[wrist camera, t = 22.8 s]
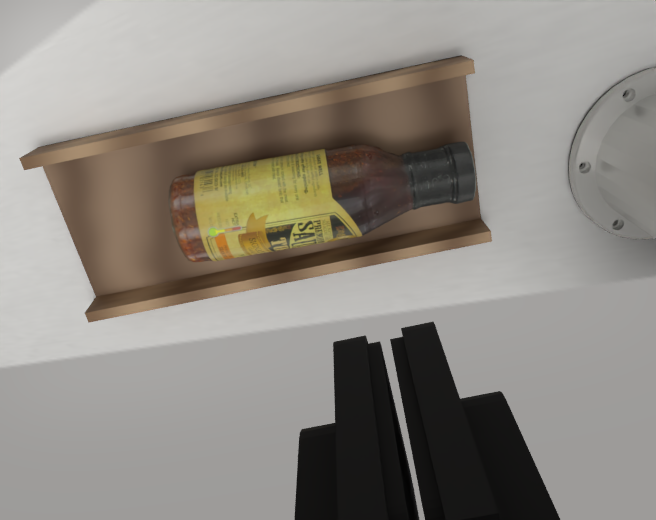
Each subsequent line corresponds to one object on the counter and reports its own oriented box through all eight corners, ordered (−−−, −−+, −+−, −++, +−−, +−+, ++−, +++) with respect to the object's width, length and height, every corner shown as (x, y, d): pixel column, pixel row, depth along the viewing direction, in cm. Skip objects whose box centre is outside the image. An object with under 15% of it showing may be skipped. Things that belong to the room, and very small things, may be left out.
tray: (461, 55, 41) (473, 60, 38) (479, 225, 46) (491, 241, 43) (39, 147, 42) (19, 158, 39) (102, 302, 47) (88, 322, 44)
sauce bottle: (172, 265, 38) (489, 211, 37) (157, 167, 38) (471, 111, 37) (201, 266, 44) (470, 221, 43) (188, 183, 45) (456, 135, 43)
